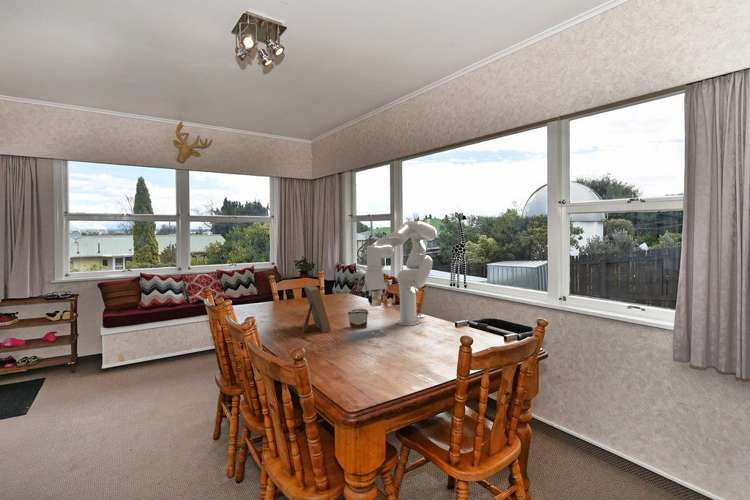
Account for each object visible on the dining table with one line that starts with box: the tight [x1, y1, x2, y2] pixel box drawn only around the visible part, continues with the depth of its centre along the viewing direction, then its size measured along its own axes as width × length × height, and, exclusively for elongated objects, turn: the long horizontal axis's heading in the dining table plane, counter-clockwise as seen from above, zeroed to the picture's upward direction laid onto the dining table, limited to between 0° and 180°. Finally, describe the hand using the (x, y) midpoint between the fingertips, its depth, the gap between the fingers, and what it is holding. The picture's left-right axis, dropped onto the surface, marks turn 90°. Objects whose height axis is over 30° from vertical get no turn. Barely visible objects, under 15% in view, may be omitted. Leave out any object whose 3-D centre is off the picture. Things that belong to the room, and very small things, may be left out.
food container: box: [347, 308, 370, 329], centre depth 222 cm, size 12×6×10 cm, turn 84°
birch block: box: [369, 290, 382, 308], centre depth 205 cm, size 5×5×8 cm
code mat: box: [344, 329, 388, 342], centre depth 204 cm, size 20×14×1 cm
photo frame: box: [302, 282, 332, 334], centre depth 220 cm, size 15×22×25 cm
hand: (375, 302), depth 205 cm, fingers closed on birch block, 5 cm apart
